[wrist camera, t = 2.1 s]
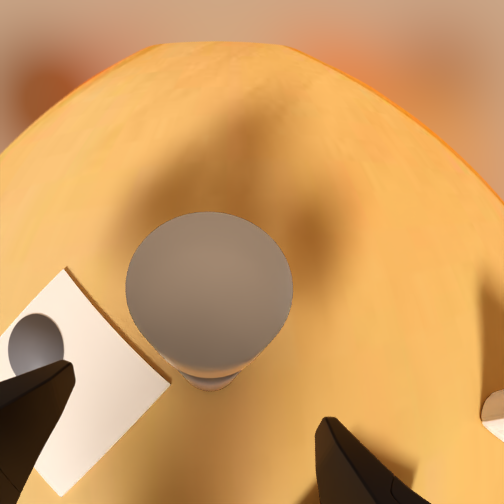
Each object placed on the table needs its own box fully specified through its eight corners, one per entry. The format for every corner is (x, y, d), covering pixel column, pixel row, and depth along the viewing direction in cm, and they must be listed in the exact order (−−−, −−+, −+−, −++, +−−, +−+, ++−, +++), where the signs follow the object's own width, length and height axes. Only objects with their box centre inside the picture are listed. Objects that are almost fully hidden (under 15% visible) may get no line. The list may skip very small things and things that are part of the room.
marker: (214, 404, 17) (220, 404, 6) (167, 365, 18) (94, 284, 6) (251, 359, 19) (322, 272, 8) (205, 323, 20) (204, 189, 8)
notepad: (62, 496, 11) (60, 497, 11) (-25, 372, 14) (-27, 371, 14) (170, 384, 18) (170, 384, 17) (64, 270, 21) (63, 268, 20)
